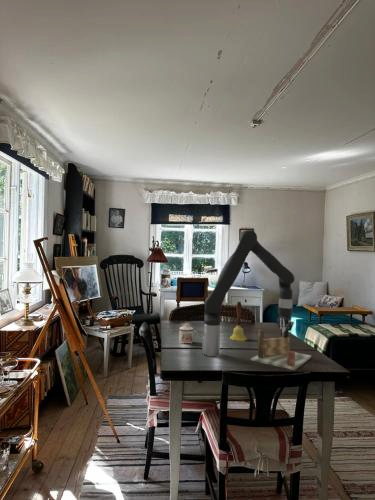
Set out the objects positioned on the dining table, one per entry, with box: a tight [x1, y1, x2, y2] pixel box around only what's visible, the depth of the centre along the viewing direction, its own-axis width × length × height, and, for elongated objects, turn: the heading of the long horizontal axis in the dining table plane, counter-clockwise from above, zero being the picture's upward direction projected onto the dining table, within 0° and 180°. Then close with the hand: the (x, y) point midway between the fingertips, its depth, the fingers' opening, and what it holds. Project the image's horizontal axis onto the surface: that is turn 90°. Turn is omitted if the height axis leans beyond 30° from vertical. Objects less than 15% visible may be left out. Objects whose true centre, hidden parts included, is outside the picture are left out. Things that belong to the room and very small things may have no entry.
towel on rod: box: [250, 328, 312, 371], centre depth 193 cm, size 24×28×16 cm
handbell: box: [229, 301, 248, 342], centre depth 234 cm, size 12×12×25 cm
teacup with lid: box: [178, 323, 199, 344], centre depth 222 cm, size 12×9×12 cm
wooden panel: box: [263, 327, 291, 356], centre depth 196 cm, size 17×2×15 cm, turn 114°
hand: (284, 336), depth 198 cm, fingers closed on wooden panel, 2 cm apart
